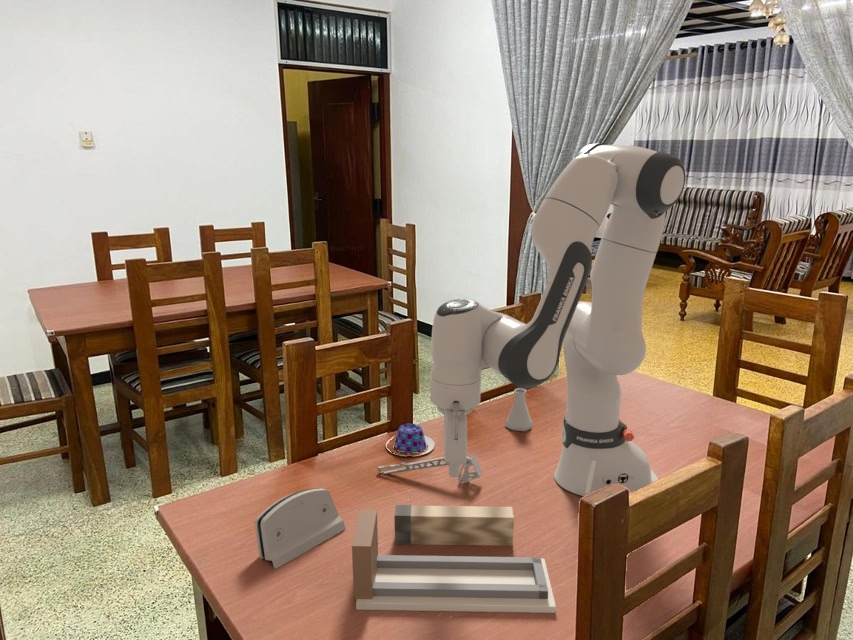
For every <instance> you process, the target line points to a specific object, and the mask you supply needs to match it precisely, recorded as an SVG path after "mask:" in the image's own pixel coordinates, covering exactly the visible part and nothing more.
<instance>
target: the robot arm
mask: <svg viewBox="0 0 853 640" xmlns="http://www.w3.org/2000/svg"><path fill="white" fill-rule="evenodd" d="M686 176H687V175H686V169H685V167H684V165H683V162H682V160H681V159H680V158H678V157H677V156H675V155H673V154H670V153H668V152H666V151H656V150H653V149H650V148H646V147H642V146H637V145H621V144H608V143H605V142H597V143H590V144H587V145H585V146H584V147H582V148H581V149H580V150H579V151H578V152H577V153H576V154H575V156H574V158H573V159H572V160H570V162H569V163H568V164H567V165H566V166H565V167H564V169H563V170H562V171H561V173H560V174H559V175H558V176H557V178H556V179H555V180H554V182H553V183H552V185H551V186H550V188H549V190H548V191H547V193H546V195H545V196H544V197H543V200H542V202H541V204H540V206H539V207H538V209H537V210H536V211H535V212H536V214H535V215H534V217H533V219H532V222H531V228H530V235H531V240H532V242H533V245H534V247H535V249H536V251H537V253H539V255H540V256H541V257H542V258H543V259H544V260H545V262H546V264H547V266H548V270H549V271H548V273H549V274H548V280H547V284H546V286H545V288H544V290H543V293H542V295H541V297H540V301H539V302H538V305H537V308H536V310H535V312H534V315H533V317H532V318H531V320H530V321H529V322H527V323H525V322H522V321H520V320H519V319H517V318H515V317H512V316H510V315H508V314H506V313H504V312H503V313H502V312H498V311H495V310H494V311H493V310H491V309H488V308H486V307H485V306H484V305H483V306H482V304H480V303H479V302H478V301H477V300H474V299H471V298H456V299H452V300H449V301H446V302H444V303H443V304H440V306H439V307H438V308H437V310H436V311H435V314H434V317H433V322H432V329H431V343H430V344H431V345H430V346H431V347H430V348H431V349H430V350H431V351H430V352H431V356H432V368H431V371H430V395H429V396H430V398H429V399H430V402H431V403H432V404H433V405H434V406H436V407H437V411H438V412H439V413H441V414H443V445H444V446H443V447H444V448H443V453H444V454H443V457H444V460H445V461H444V462H445V463H446V464H449V465H448V476H449V477H450V478H458V477H459V474H460V470H461V465H463V464H465V462H466V456H467V455H468V454H467V450H468V422H467V421H468V420H467V415H470V414H471V413H472V412H473V409H474V408H475V407H477V406H478V405H479V404H480V403H481V391H482V389H481V387H482V371H483V370H484V369H489V368H490V369H492V370H494V371H495V372H497V373H499V374H500V375H502V376H503V377H504V378H505V379H507V381H509V382H510V383H511V384H513V385H514V387H517V388H521V389H533V388H535V387H537V386H539V385H541V384H544V383H545V382H546V381H548V380H549V379H550V378H551V377H552V376H553V374H554V373H555V371H556V370H557V367H558V365H559V361H560V358H561V357H560V356H561V352H562V349H563V355H564V356H563V357H564V366H565V372H566V382H567V390H566V391H567V395H566V396H567V397H566V411H565V416H564V418H563V422H562V423H563V425H562V429H561V430H562V431H561V441H562V447H561V452H560V457H559V460H558V464H557V467H556V469H555V471H554V474H553V475H554V480H555V482H556V483H557V484H558V485H559V486H560V487H561V488H563V489H564V490H565V491H569V492H571V493H573V494H575V495H579V496H580V497H581V496H582V497H583V498H585V497H584V496H585V495H588V494H590V493H592V492H594V491H597V490H599V489H601V488H604V487H606V486H609V485H612V484H619V485H623V486H625V487H627V488H628V489H629V490H630V492H633V491H637V490H638V489H640V488H643V487H645V486H647V485H649V484H651V483H652V482H654V481H656V480H658V479H659V477H658V475H657V474H656V473H655V472H654V470H653V469H652V468H651V464H650V461H649V457H648V456H647V454H646V453H645V452H644V451H643V450H642V449H641V448H640V447H639V446H638V445H637V444H635V442H633V440H634V438H635V435H634V433H633V431H632V430H631V429H629V428H628V426H627V425H626V424H625V423H624V422H623V421H622V419H620V414H621V413H620V412H621V411H620V410H621V400H622V388H621V384H620V381H619V378H618V376H625V375H628V374H631V373H632V372H633V373H634V371H636V370H637V369H638V368H639V367H640V366H641V365H642V363H643V361H644V359H645V357H646V354H647V344H646V341H645V338H644V334H643V323H642V322H643V307H644V306H643V305H644V296H645V291H646V288H647V287H646V286H647V284H648V281H649V278H650V274H651V271H652V268H653V265H654V261H655V259H656V255H657V253H658V250H659V247H660V243H661V240H662V236H663V232H664V227H665V220H666V214H667V211H669V210H670V209H671V208H672V207H673V206H674V205H675V204H676V203H677V202H678V200H679V199H680V197H681V196H682V194H683V191H684V188H685V185H686V179H687V178H686ZM611 205H612V207H613V209H612V212H611V213H610V215H609V218H608V219H607V222H606V224H605V227H604V230H603V233H602V236H601V238H600V242H599V245H598V248H597V252H596V254H595V258H594V260H593V257H592V252H591V250H592V245H593V242H594V239H595V237H596V235H597V232H598V230H599V229H600V227H601V225H602V223H603V221H604V220H605V217H606V215H607V213H608V210H609V209H610V207H611ZM589 276H590V277H589ZM589 278H590V283H591V289H592V290H591V292H592V293H591V302H589V301H580V299H581V296H582V294H583V292H584V289H585V287H586V284H587V282H588V279H589Z"/></svg>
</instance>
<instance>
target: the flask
mask: <svg viewBox="0 0 853 640" xmlns="http://www.w3.org/2000/svg"><path fill="white" fill-rule="evenodd" d="M513 393H514V400H513V404H512V407H511V409H510V412H509V414H508V416H507V418H506V421H505V425H504V427H505V428H507V429H510V430H511V431H519V432H526V431H528V430H531V429H532V427H533V421H532V417H531V415H530V411H529V409H528V406H527V401H526V393H527V389H526V388H520V387H517V388H514V391H513Z"/></svg>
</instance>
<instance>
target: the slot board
mask: <svg viewBox="0 0 853 640" xmlns="http://www.w3.org/2000/svg"><path fill="white" fill-rule="evenodd" d="M378 535H379V534H378V510H376V509H375V510H374V509H359V512H358V516H357V521H356V526H355V530H354V534H353V539H352V544H351V556H352V558H351V560H352V561H351V562H352V584H353V586H352V587H353V600H356V602H355V606H356V607H355V609H356V610H360V611H410V612H411V611H414V612H415V611H420V612H421V611H424V612H476V613H477V612H478V613H479V612H480V613H482V612H483V613H485V612H486V613H535V614H536V613H537V614H538V613H540V614H541V613H542V614H547V613H548V614H550V613H551V614H556V609H557V607H556V602H555V596H554V593H553V590H552V584H551V581H550V576H549V573H548V568H547V564H546V560H545V558H543V557H542V558H541V557H534V556H533V557H532V556H530V557H529V556H528V557H527V556H521V557H520V556H476V555H475V556H470V555H469V556H467V555H466V556H465V555H464V556H463V555H460V556H459V555H458V556H457V555H405V554H403V555H400V554H399V555H397V554H396V555H393V554H379V538H378Z"/></svg>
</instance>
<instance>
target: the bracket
mask: <svg viewBox="0 0 853 640" xmlns="http://www.w3.org/2000/svg"><path fill="white" fill-rule="evenodd" d="M442 461H443V462H442ZM436 462H437V463H436ZM461 465H462V466H461V467H460V470H459V477H457V480H458V481H459V483H460V484H461V485H463V484H466V483H469V482H470V481H472V480H475V479H481V478H482V477H481V476H482V472H483V470H482V469H481V467H480V465H479V463H478V461H477V458H476V457H475V454H474V453H472V454H467V456H466V462H465V464H461ZM402 466H403V467H402ZM442 466H449V464H446V463H445V460H444V456H440V457H435V458H430V459H425V460H424V459H423V460H419V461H414V462H413V461H412V462H409V463H408V462H404V461H401V462H400V463H399V464H398V463H396V464H388V465H385V464H384V465H382V466H381V465H378V467H377V471H378V473H379V474H380V473H382V472H384V473H383V474H382V475H389V474H396V473H403V472H410V471H416V470H422V469H429V468H436V467H442ZM471 466H472V467H473V469H474V471H469V470H470V467H471ZM400 467H401V468H400ZM389 468H390V469H391V468H397V469H391V470H390V469H389ZM383 469H389V470H385V471H383ZM462 472H463V473H462Z"/></svg>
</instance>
